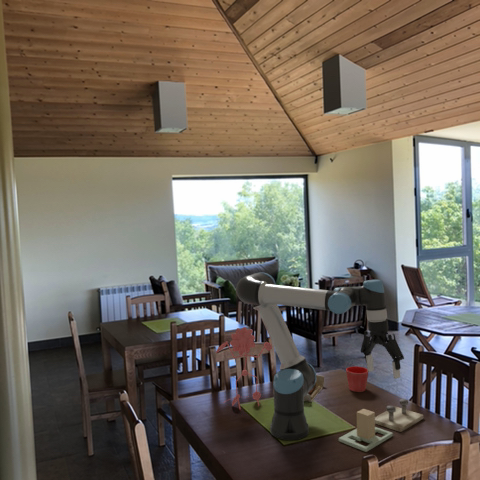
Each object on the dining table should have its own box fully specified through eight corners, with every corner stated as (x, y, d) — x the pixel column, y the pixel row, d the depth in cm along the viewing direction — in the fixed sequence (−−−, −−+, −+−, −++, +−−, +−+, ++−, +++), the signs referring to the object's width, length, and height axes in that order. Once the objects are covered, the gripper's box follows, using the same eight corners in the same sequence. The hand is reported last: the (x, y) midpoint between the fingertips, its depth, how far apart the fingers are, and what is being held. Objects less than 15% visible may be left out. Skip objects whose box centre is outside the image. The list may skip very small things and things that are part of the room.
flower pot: (371, 387, 241) (371, 368, 240) (364, 394, 231) (364, 374, 231) (350, 384, 246) (350, 364, 246) (343, 390, 237) (342, 371, 236)
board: (371, 422, 201) (371, 405, 200) (395, 409, 213) (394, 394, 212) (400, 432, 191) (400, 414, 191) (423, 418, 203) (423, 402, 203)
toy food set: (290, 382, 253) (290, 367, 252) (325, 386, 245) (324, 371, 245) (272, 399, 230) (272, 383, 229) (310, 404, 222) (309, 388, 222)
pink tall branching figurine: (277, 403, 223) (274, 327, 222) (223, 413, 214) (219, 333, 213) (263, 393, 237) (261, 321, 236) (212, 402, 228) (209, 327, 227)
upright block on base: (338, 441, 185) (338, 414, 184) (365, 426, 197) (365, 401, 197) (366, 452, 176) (365, 424, 176) (392, 435, 188) (392, 409, 188)
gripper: (409, 321, 181) (416, 378, 181) (361, 315, 203) (367, 366, 203) (395, 325, 177) (401, 383, 177) (348, 318, 199) (353, 370, 199)
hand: (383, 374), depth 190 cm, fingers open, 13 cm apart
